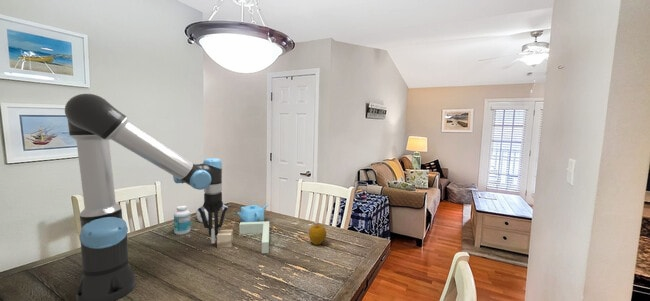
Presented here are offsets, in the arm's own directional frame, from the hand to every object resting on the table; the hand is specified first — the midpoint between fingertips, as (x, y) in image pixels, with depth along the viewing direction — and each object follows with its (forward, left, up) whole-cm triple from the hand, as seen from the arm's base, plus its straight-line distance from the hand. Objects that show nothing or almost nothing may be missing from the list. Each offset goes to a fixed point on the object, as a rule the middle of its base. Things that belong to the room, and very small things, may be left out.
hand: (213, 242), depth 124 cm
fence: (+2, -18, -2) cm, 18 cm away
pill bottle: (+17, +19, -2) cm, 26 cm away
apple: (-4, -48, -2) cm, 48 cm away
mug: (+34, +10, -2) cm, 35 cm away
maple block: (0, -5, -2) cm, 5 cm away
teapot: (+24, -16, -2) cm, 29 cm away
